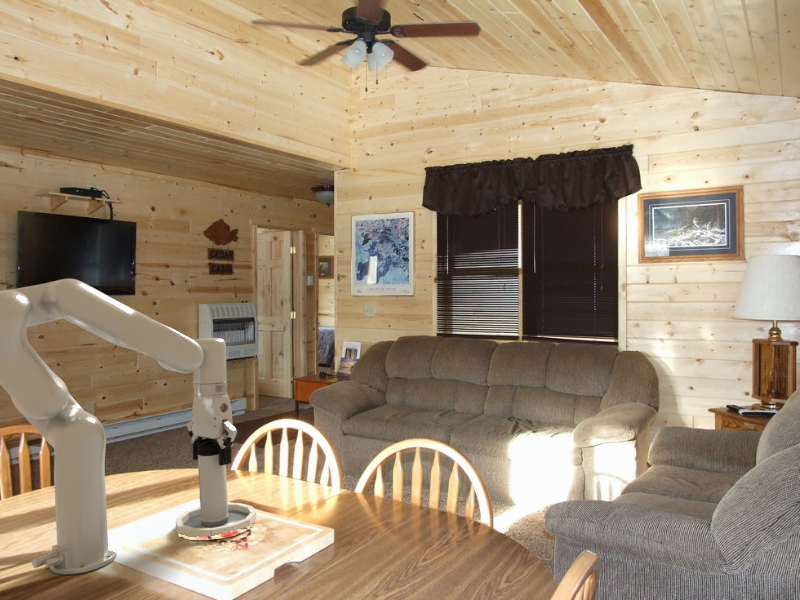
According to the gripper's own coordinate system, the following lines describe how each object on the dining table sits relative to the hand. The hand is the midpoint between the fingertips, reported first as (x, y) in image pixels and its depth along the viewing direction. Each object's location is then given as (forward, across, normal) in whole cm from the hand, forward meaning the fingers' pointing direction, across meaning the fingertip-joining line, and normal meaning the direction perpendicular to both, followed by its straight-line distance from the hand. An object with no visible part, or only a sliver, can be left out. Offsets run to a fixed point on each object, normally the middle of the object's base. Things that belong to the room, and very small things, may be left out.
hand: (211, 461), depth 151 cm
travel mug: (+15, 0, -1) cm, 15 cm away
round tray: (+16, 0, -1) cm, 16 cm away
